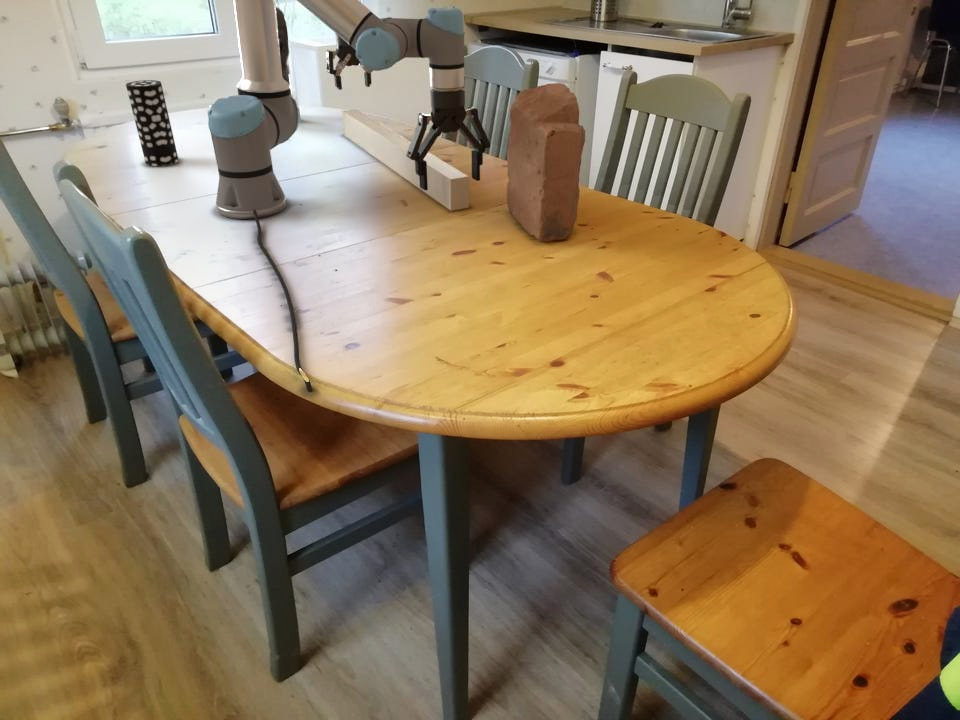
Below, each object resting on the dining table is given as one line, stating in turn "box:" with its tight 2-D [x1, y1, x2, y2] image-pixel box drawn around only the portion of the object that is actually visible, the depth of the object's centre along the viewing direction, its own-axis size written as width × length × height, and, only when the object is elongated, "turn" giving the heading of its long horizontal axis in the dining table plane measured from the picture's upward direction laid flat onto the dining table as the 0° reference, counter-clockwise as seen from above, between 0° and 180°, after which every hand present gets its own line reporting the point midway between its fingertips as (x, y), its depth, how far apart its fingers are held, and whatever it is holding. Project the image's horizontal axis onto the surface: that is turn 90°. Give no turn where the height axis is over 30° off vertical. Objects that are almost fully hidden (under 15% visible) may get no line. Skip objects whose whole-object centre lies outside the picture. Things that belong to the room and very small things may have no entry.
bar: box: [341, 108, 470, 212], centre depth 184 cm, size 73×5×7 cm, turn 29°
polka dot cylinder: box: [125, 79, 179, 167], centre depth 181 cm, size 8×8×20 cm
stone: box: [506, 82, 586, 242], centre depth 144 cm, size 22×11×28 cm, turn 18°
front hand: (450, 184), depth 161 cm, fingers open, 13 cm apart
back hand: (353, 87), depth 200 cm, fingers open, 8 cm apart
